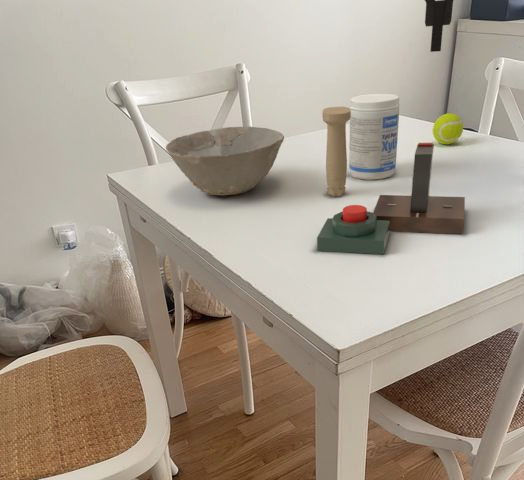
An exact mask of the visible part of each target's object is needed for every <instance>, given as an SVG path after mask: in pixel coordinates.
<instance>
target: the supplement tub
mask: <svg viewBox="0 0 524 480" xmlns="http://www.w3.org/2000/svg"><path fill="white" fill-rule="evenodd" d="M400 105H401V104H400V95H398V94H394V93H368V94H360V95H356V96H353V97H352V98H350V106H349V108H350V110H351V117H350V120H349V148H348V150H349V152H348V153H349V154H348V157H349V159H348V172H349V175H350V176H351V177H353V178H356V179H358V180H369V181H370V180H372V181H373V180H382V179H386V178H390V177H391V176H393V175H394V174H395V173H396V168H397V167H396V166H397V152H398V140H399V139H398V138H399V137H398V136H399V124H400V123H399V121H400Z"/></svg>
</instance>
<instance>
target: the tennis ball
mask: <svg viewBox="0 0 524 480" xmlns="http://www.w3.org/2000/svg"><path fill="white" fill-rule="evenodd" d="M463 132H464V122H463V121H462V118H461V116H459V115H457V114H455V113H452V112H451V113H450V112H449V113H444V114H442V115H440V116H439V117H438V118H437V119H436V120H435V122H434V124H433V127H432V135H433V137H434V139H435V141H436V142H438V143H439V144H441V145H451V144H453V143H455V142H457V141H458V140H459V139H460V138H461V137H462V134H463Z"/></svg>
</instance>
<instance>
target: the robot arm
mask: <svg viewBox="0 0 524 480" xmlns="http://www.w3.org/2000/svg"><path fill="white" fill-rule="evenodd" d="M424 1H425V17H424V18H425V19H424V24H425V25H424V26H425V27H431V41H430V51H429V53H431V52H432V53H434V52H441V51H442V50H441V49H442V41H443V40H442V39H443V30H444V26H450V24H451V23H452V18H453V17H452V16H453V15H452V14H453V7H454V6H453V5H454V0H424Z"/></svg>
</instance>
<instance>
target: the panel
mask: <svg viewBox="0 0 524 480" xmlns="http://www.w3.org/2000/svg"><path fill="white" fill-rule="evenodd" d="M465 200H466V196H440V195H439V196H438V195H436V196H435V195H429V199H428V205H427V211H426V212H410V207H411V195H403V194H401V195H399V194H398V195H397V194H379V196H378V198H377V202H376V204H375V207H374V209H373V211H372V213H373V214H375V215H376V216H377V220H386V221H390V232H402V233H423V234H425V233H426V234H446V235H463V233H464V225H465V217H466V216H465V212H466V211H465V210H466V208H465V207H466V206H465V205H466V201H465Z"/></svg>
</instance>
